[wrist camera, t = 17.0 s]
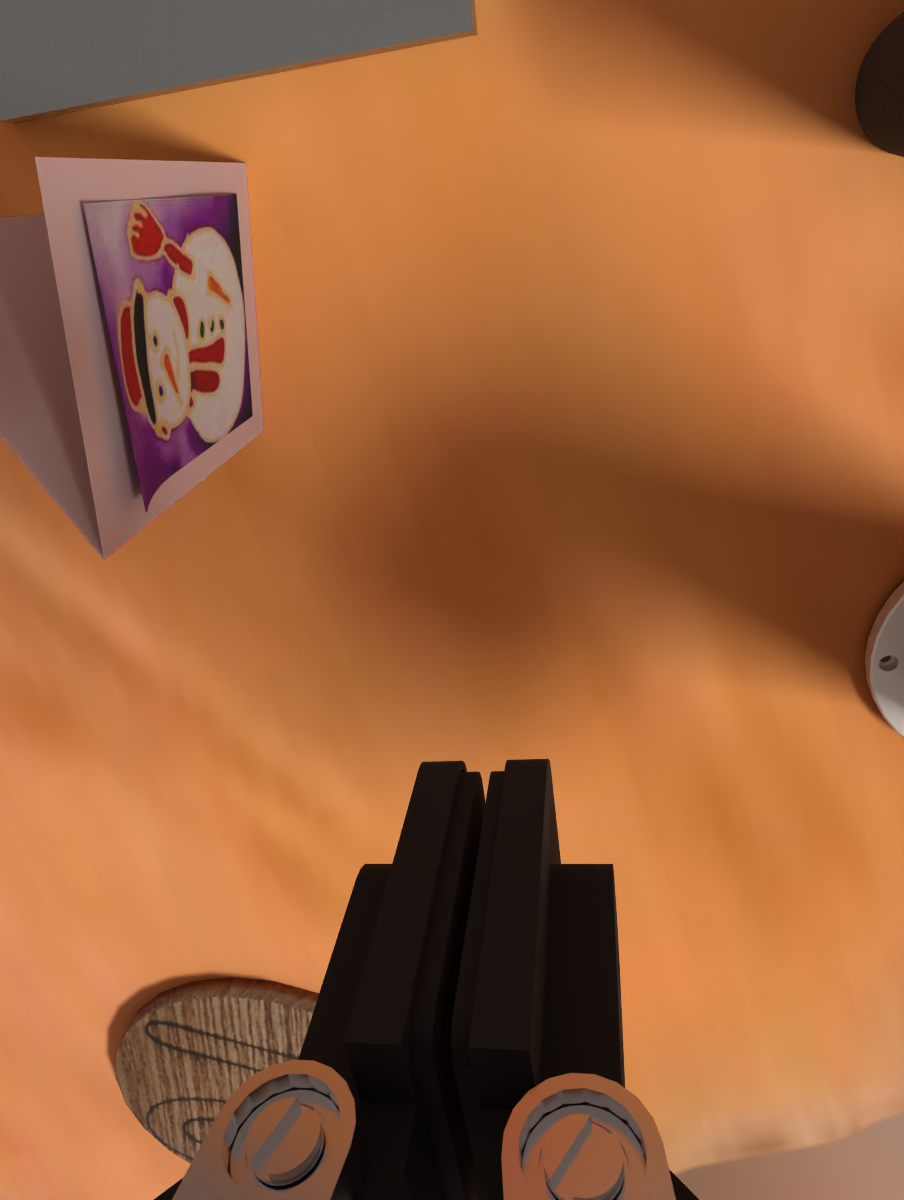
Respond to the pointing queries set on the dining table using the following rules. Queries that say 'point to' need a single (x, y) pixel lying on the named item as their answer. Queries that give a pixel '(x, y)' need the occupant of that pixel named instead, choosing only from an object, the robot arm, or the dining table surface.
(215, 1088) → the trivet
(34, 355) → the greeting card
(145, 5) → the square plate with ring
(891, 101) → the drinking cup
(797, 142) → the dining table surface
